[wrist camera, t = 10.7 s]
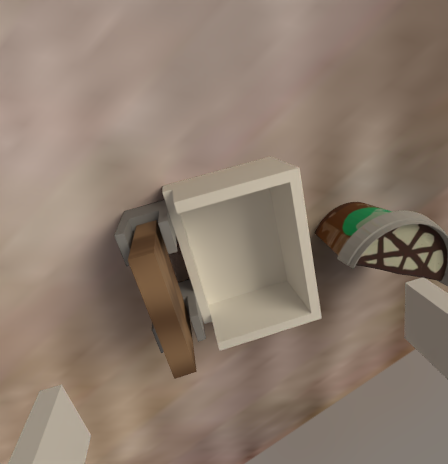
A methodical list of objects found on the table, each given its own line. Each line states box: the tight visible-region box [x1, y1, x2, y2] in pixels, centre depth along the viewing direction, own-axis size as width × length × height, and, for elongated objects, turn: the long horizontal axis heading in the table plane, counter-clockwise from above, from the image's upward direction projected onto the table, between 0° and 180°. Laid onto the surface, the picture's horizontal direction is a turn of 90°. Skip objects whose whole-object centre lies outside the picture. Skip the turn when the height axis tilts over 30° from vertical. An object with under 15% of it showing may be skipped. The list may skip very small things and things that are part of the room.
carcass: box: [114, 156, 322, 353], centre depth 33 cm, size 16×17×8 cm
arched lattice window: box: [315, 202, 448, 286], centre depth 34 cm, size 12×6×10 cm, turn 75°
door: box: [128, 220, 196, 379], centre depth 30 cm, size 12×2×8 cm, turn 13°
